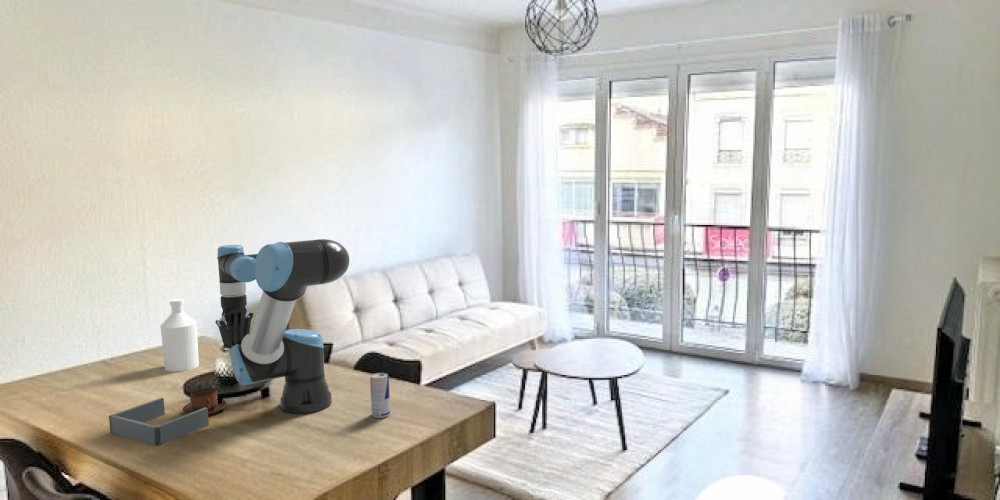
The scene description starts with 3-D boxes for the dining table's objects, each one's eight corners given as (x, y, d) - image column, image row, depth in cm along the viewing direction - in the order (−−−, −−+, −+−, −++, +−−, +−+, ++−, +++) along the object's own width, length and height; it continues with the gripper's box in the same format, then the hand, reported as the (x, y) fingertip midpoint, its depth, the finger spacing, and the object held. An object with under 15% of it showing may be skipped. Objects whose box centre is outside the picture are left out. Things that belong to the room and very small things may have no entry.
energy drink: (393, 412, 197) (391, 373, 195) (385, 419, 192) (383, 378, 190) (376, 410, 198) (375, 371, 197) (368, 417, 193) (366, 377, 191)
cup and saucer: (235, 408, 202) (233, 389, 201) (199, 422, 192) (198, 401, 191) (209, 402, 208) (208, 383, 207) (174, 414, 198) (172, 394, 197)
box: (208, 424, 189) (207, 407, 189) (157, 446, 175) (156, 428, 175) (162, 413, 198) (161, 397, 198) (110, 433, 184) (108, 415, 184)
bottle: (157, 368, 243) (151, 301, 240) (187, 360, 253) (182, 295, 250) (175, 373, 237) (170, 304, 233) (206, 365, 246) (201, 299, 243)
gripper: (241, 289, 215) (245, 360, 218) (207, 297, 203) (212, 372, 207) (258, 291, 211) (262, 363, 215) (224, 299, 200) (229, 375, 203)
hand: (238, 367), depth 211 cm, fingers closed
